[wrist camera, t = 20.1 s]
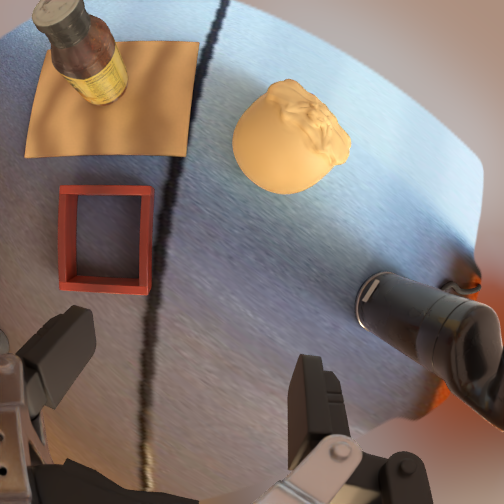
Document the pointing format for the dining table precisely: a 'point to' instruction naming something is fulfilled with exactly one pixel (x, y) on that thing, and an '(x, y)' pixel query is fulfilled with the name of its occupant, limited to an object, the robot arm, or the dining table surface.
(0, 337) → the sundae
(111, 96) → the sauce bottle
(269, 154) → the tan rounded lump
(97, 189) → the holder
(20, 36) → the dining table surface
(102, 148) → the mat
